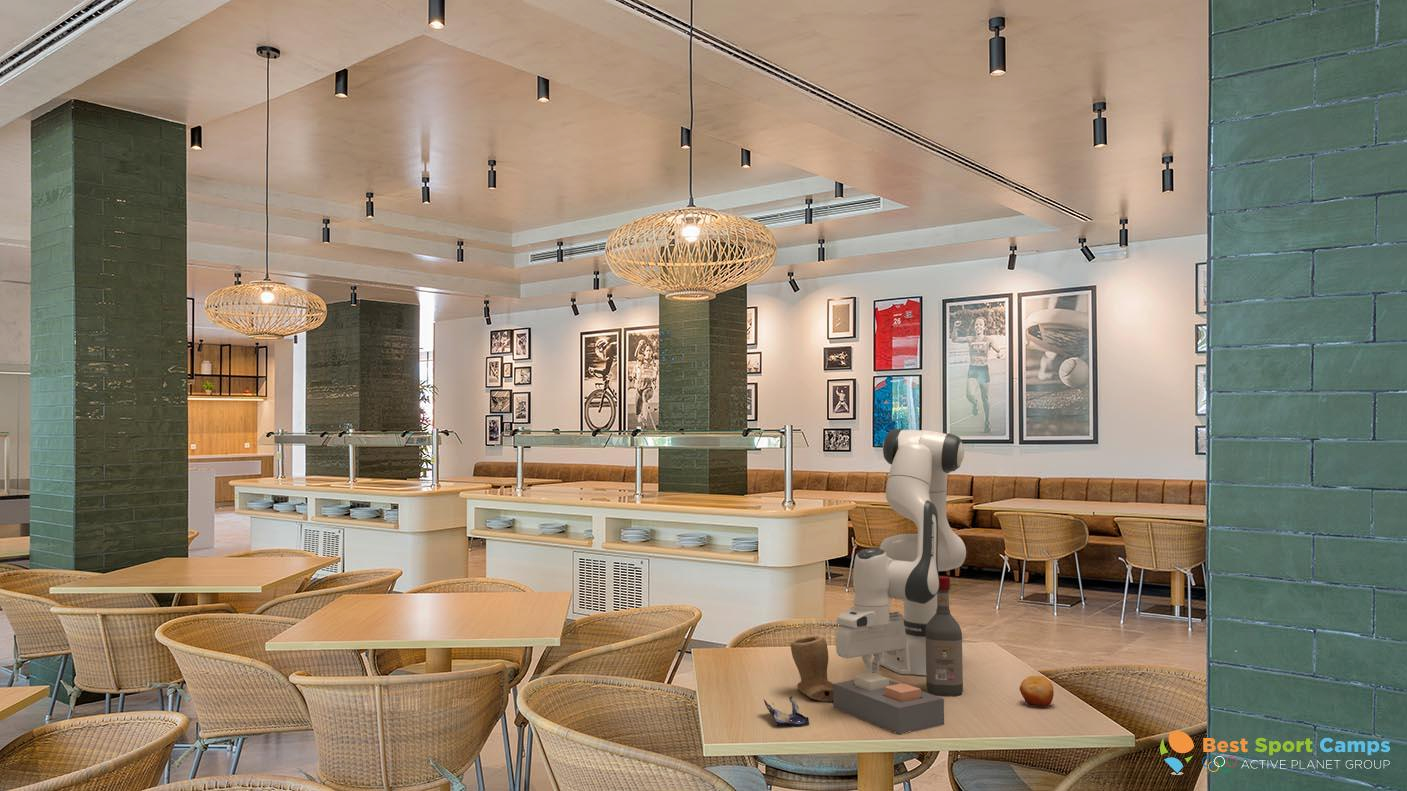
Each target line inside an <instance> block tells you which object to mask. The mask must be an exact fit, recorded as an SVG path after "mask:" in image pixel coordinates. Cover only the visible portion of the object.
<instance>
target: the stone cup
mask: <svg viewBox="0 0 1407 791" xmlns="http://www.w3.org/2000/svg"><path fill="white" fill-rule="evenodd" d="M828 649H829V648H828V642H827V640H826V639H825V638H824V637H823V636H821V637H820V636H818V635H812V636H806V637H800V638H796V639H794V640H792V641H791V643H790V651H791V656H792V659H793V661H794V663H795V665H796V668H797V671H798V674H799V677H800V682H798V683H797V689H798V690H799V691H800V692H802V693H803V694H804V695H805V696H807V697H809V698H810V699H813V700H817V701H819V702H833V684H834V683H833V682H832V681H829V679H828V666H829V650H828Z"/></svg>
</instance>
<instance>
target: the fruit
mask: <svg viewBox="0 0 1407 791" xmlns="http://www.w3.org/2000/svg"><path fill="white" fill-rule="evenodd" d="M1022 680H1023V681H1021V684H1020V685H1019V691H1020V694H1021V696H1022V698H1023V699H1024V701H1025V702H1026V704H1027V705H1028V706H1030V707H1031V706H1032V707H1042V708H1046V707H1049V706H1051V704H1052V702H1053V698H1054V691H1055V690H1054V686H1053V683H1052V682H1051V681H1050V680H1048V679H1047V677H1045V676H1043V675H1032V676H1027V678H1025V679H1022Z"/></svg>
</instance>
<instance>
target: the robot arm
mask: <svg viewBox="0 0 1407 791" xmlns="http://www.w3.org/2000/svg"><path fill="white" fill-rule="evenodd" d="M882 453H883V454H882V455H883V458H884V460H885V461H886V463H888V464H889V465H891V466H890V470H889V472H888V478H887V480H886V481H887V482H886V487H885V499H886V501H887V503H888V505H889V507H890V508H891V509H892V510H893V511H894V512H896V513H897V514H899V515H900V516H902V517H903V518H906V519H907V520H910V521H912V522H913V523H914V524H915V525H916V528H917V533H901V534H896V535H892V536H888V537H885V538H884V539H883V540H882V542H881V543H880V545H879V548H877V547H876V548H875V547H873V548H872V547H871V548H865V549H861V550H859V551H858V552H857V553H856V555H855V558H854V563H853V570H852V571H853V573H852V574H853V575H852V576H853V578H852V579H853V580H852V585H853V586H852V587H853V589H854V598H853V607H851V608H849V609H847V610H846V611H844V612H842V613H840V614H839V615H838V616H837V619H836V622H837V624H838V625H839V626H838V627H837V629H836V635H835V636H836V637H835V652H836V654H837V656H839V657H840V658H843V659H852V658H858V657H859V658H860V657H861V659H862V661H863V663H864V664H865V672H866V673H868V674H871V673H874V672H875V673H876V672H879V671H880V666H882V667H885V668H886V669H888V670H891V671H893V672H895V673H897V674H900V675H917V676H918V675H919V676H926V625H927V623H928V622H929V621H930V620H931V618H932V617H933V616H934V615H935V614H936V610H937V593H938V590H939V576H940V574H939V572H946V571H949V570H950V571H951V570H955V569H958V568H960V567H962V565H963V564H964V562H965V560H966V557H967V548H966V545H965V543H964V541H963V539H962V538H961V537H960V536H959V535H958V534H957V533H956V532H954V531H953V529H952V528H951V526H950V524H949V521H948V516H947V494H948V493H947V491H948V474H950V473H952V472H955V471H956V470H958V469H959V468H960V467H961V464H962V463H963V460H964V458H965V449H964V444H963V440H962V439H961V438H960V436H958V435H955V434H952V433H950V432H949V433H944V432H939V431H934V430H928V429H924V430H920V429H919V430H918V429H903V428H894V429H890V431H889V432H887V433H886V435H885V437H884V440H883V443H882ZM889 598H891V599H898V600H902V601H903V602H902V603H903V615H902V613H900V611H894V612H891V611H890V610H891V609H890V606H891V605H890V599H889ZM872 656H873V660H872V661H871V659H872Z"/></svg>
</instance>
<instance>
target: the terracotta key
mask: <svg viewBox="0 0 1407 791" xmlns="http://www.w3.org/2000/svg"><path fill="white" fill-rule="evenodd" d="M921 691H922V690H921V688H919V687H916V686H913V685H910V684H907V683H904V682H903V683H899V684H896V685H891V686H886V687H884V696H885V697H888V698H891V699H894V700H896V701H899V702H906V701H911V700H915V699H920V698H921Z"/></svg>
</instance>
